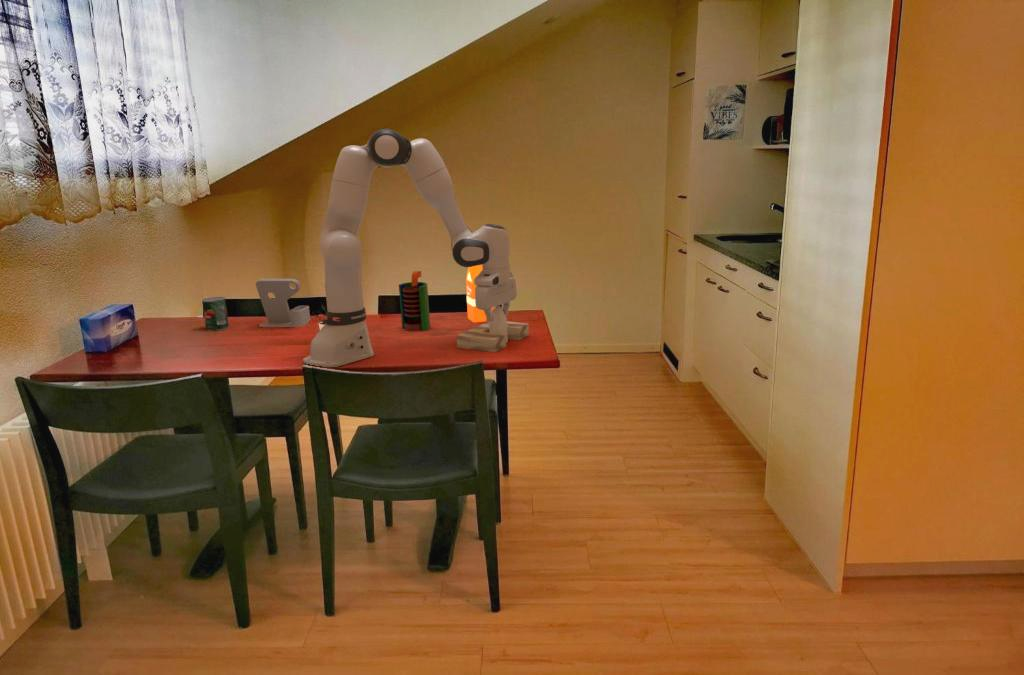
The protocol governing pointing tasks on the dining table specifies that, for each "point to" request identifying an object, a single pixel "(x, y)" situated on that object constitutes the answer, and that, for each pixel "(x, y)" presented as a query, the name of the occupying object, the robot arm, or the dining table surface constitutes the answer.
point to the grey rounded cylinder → (498, 322)
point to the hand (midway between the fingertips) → (497, 318)
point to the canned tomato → (215, 313)
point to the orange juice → (473, 295)
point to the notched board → (491, 337)
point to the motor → (414, 304)
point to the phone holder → (281, 303)
